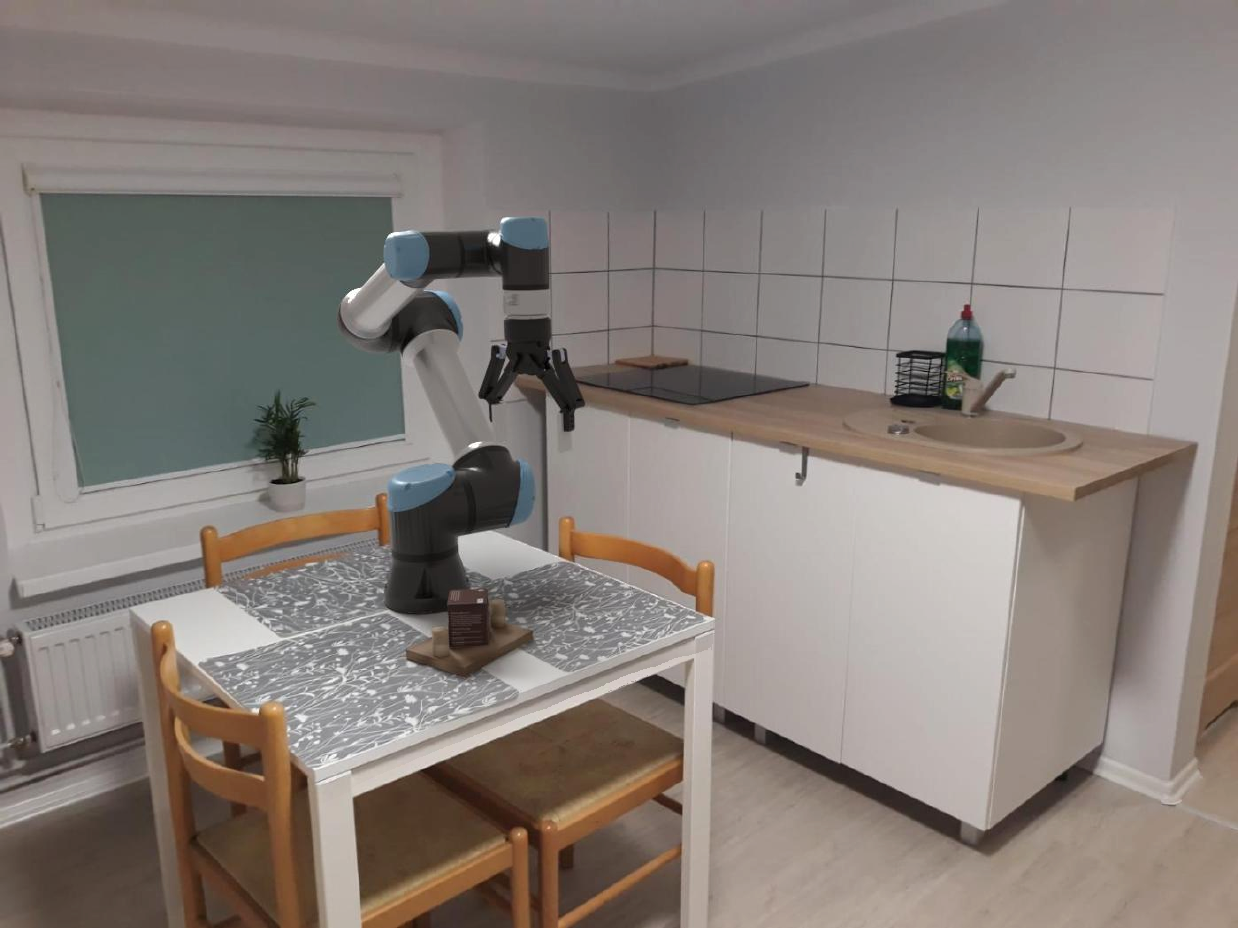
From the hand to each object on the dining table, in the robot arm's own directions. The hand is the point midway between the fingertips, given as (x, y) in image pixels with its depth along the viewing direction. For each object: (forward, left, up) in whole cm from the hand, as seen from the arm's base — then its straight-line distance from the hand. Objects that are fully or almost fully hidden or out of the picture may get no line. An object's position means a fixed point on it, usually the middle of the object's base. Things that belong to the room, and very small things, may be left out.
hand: (531, 446), depth 162 cm
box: (+1, -18, -27) cm, 33 cm away
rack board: (+1, -18, -29) cm, 34 cm away
